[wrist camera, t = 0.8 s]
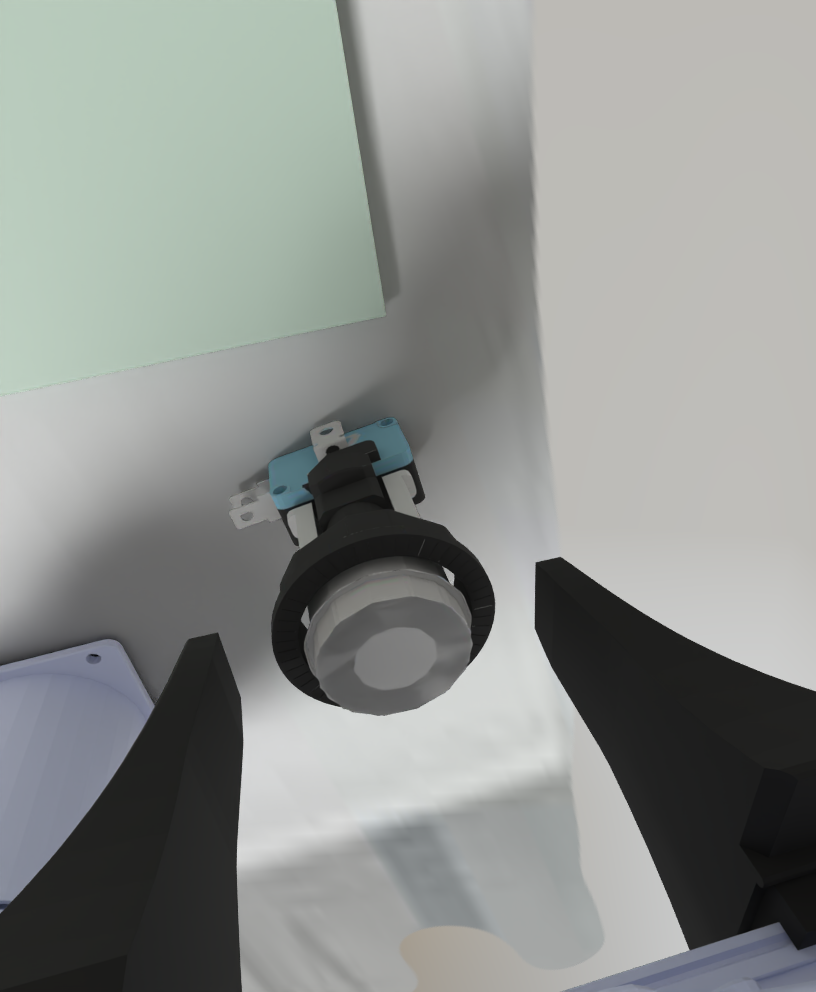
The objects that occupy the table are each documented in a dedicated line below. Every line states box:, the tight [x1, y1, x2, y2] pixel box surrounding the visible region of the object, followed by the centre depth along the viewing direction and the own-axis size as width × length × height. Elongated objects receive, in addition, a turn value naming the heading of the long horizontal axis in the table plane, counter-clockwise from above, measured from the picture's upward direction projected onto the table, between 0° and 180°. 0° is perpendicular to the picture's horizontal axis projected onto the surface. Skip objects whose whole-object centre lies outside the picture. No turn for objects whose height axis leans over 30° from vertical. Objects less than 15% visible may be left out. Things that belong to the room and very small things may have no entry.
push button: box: [229, 417, 495, 716], centre depth 18 cm, size 7×5×10 cm
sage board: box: [0, 0, 386, 396], centre depth 16 cm, size 12×12×1 cm
